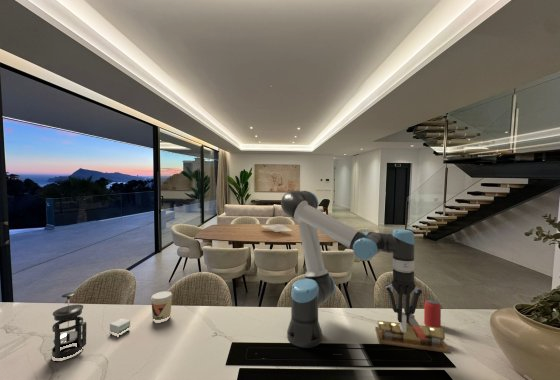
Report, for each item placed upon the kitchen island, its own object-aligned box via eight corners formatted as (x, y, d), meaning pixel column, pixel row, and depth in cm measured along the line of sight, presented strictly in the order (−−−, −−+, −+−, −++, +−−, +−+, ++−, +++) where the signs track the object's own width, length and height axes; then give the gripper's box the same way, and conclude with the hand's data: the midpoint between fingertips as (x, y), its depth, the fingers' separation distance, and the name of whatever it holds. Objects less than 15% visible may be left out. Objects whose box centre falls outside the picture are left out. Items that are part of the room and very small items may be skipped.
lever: (403, 316, 106) (403, 312, 106) (413, 317, 105) (413, 313, 105) (416, 338, 90) (416, 333, 90) (426, 339, 89) (426, 335, 89)
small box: (118, 338, 104) (118, 326, 104) (109, 335, 106) (109, 323, 106) (130, 331, 109) (130, 320, 109) (121, 328, 111) (122, 317, 111)
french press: (42, 362, 89) (42, 299, 89) (64, 345, 98) (65, 288, 98) (74, 362, 89) (74, 299, 89) (93, 346, 98) (94, 289, 98)
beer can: (443, 330, 111) (443, 304, 111) (427, 329, 113) (427, 303, 113) (437, 323, 118) (437, 298, 118) (422, 321, 119) (422, 297, 119)
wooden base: (379, 343, 102) (379, 321, 102) (375, 330, 111) (375, 310, 111) (449, 353, 96) (449, 330, 96) (438, 338, 106) (438, 317, 106)
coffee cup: (146, 323, 115) (146, 298, 115) (159, 313, 124) (159, 290, 125) (164, 325, 114) (164, 299, 114) (175, 315, 123) (176, 291, 123)
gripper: (387, 271, 92) (387, 334, 92) (425, 274, 90) (425, 338, 90) (383, 265, 100) (383, 323, 100) (417, 267, 97) (417, 327, 97)
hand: (403, 330), depth 95 cm, fingers closed
